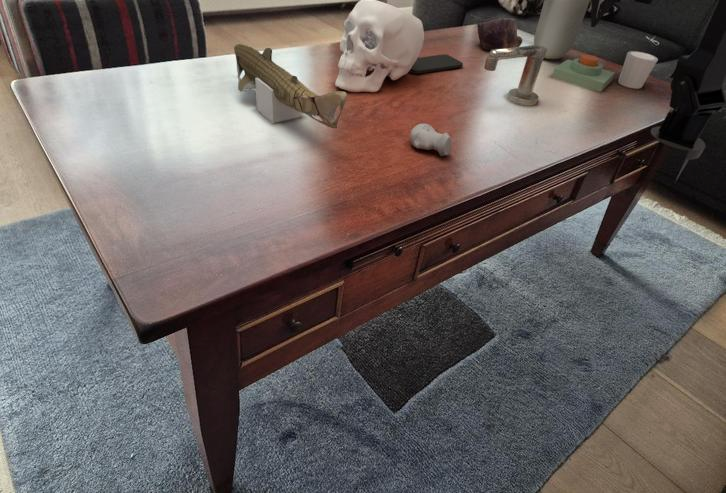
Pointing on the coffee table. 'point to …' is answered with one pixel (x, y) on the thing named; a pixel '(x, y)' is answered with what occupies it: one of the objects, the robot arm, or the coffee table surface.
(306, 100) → the wood carving
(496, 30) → the rock
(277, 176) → the coffee table surface
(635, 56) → the shot glass
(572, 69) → the push button box
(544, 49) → the spout
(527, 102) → the faucet
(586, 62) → the button
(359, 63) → the skull planter
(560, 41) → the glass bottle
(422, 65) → the phone
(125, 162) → the coffee table surface
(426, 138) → the smooth white sculpture
